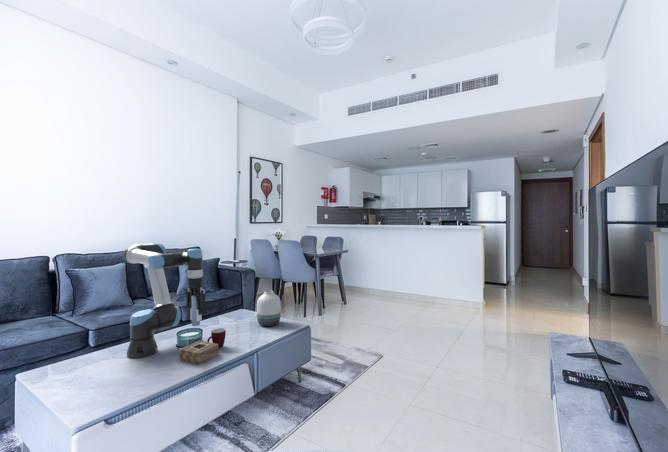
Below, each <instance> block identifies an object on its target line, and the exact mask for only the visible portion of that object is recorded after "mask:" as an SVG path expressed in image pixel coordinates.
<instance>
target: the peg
mask: <svg viewBox="0 0 668 452" xmlns="http://www.w3.org/2000/svg"><path fill="white" fill-rule="evenodd" d="M191 299H192V320H191V326H192V327H197V326H201V320H200V321H197V313H196V309H197V301H196V297H195V295H193V296H191Z"/></svg>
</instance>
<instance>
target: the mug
mask: <svg viewBox="0 0 668 452" xmlns="http://www.w3.org/2000/svg"><path fill="white" fill-rule="evenodd" d="M210 332H211V333H210V335H211V336H209V337H208V338H207V341H206V342H210V340H211V343H216V344H219V349H222V348H223V347H224V344H225V340H226V334H227V333H226V328H222V327H221V328H214V329H212V330H211V331H210Z"/></svg>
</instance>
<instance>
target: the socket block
mask: <svg viewBox="0 0 668 452" xmlns="http://www.w3.org/2000/svg"><path fill="white" fill-rule="evenodd" d="M219 351H220V348H219V344H216V343H212V341H211V342H210V341H209V342H207V341H205V340H197V341H195V342H193V343H191V344H189V345H186V346H183V347H181V348H180V349H179V361H181V362H186V363H190V364H193V365H194V364H195V365H198V366H200V365H201V364H203V363H206V362H207V361H209V360H211V359H213V358H215V357H217V356H218V355H219Z"/></svg>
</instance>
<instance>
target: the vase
mask: <svg viewBox="0 0 668 452" xmlns="http://www.w3.org/2000/svg"><path fill="white" fill-rule="evenodd" d="M281 302H282V301H281V298H280V296H279V295H277V294H276V293H275V292H274V290H271V289H270V290H264V293H263V294H261V295H260V296H259V297H258V298H257V301H256V319H257V320H256V321H257V323H258V324H259V325H260V326H263V327H272V326H276V325H278V324H279V323H280V321H281V316H282V315H281V313H282V310H281V304H282V303H281Z"/></svg>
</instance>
